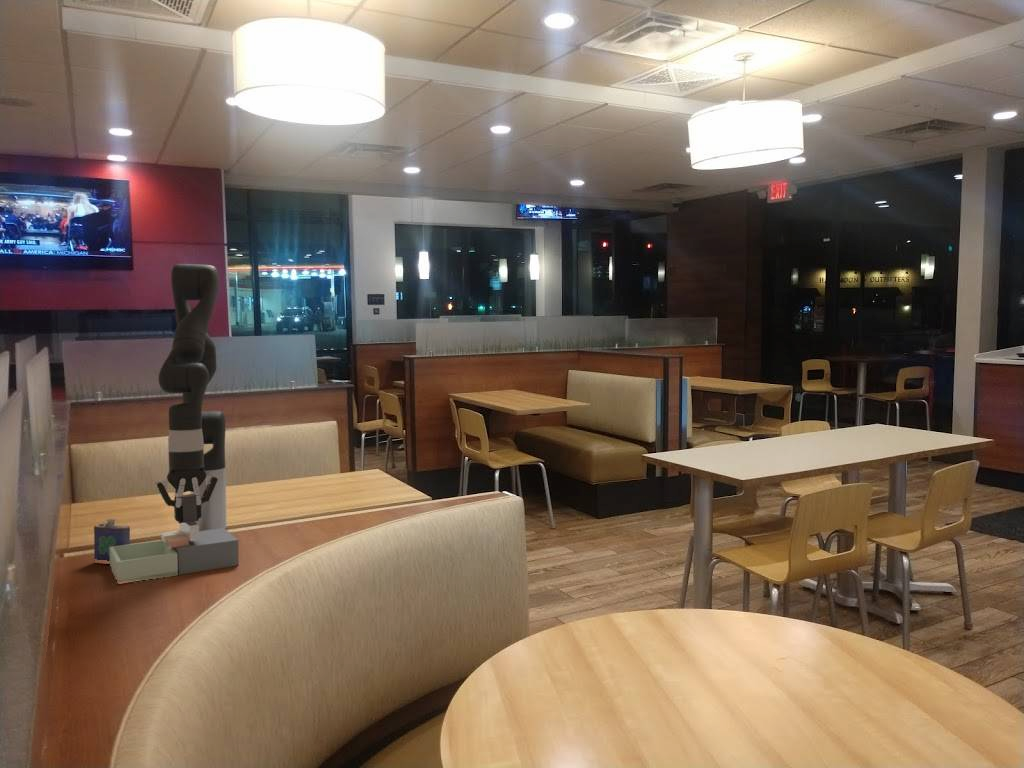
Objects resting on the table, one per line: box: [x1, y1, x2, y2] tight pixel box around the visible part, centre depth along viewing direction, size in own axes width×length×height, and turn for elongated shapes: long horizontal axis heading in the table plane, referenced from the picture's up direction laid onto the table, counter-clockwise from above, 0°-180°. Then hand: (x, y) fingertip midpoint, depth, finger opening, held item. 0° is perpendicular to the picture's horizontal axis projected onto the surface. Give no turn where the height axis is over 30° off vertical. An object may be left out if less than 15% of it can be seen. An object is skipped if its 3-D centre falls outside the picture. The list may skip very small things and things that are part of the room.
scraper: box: [178, 493, 199, 541], centre depth 174 cm, size 12×3×10 cm, turn 34°
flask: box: [93, 518, 131, 561], centre depth 177 cm, size 9×3×11 cm, turn 78°
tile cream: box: [160, 529, 183, 541], centre depth 176 cm, size 4×4×1 cm
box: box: [109, 539, 179, 583], centre depth 170 cm, size 15×12×5 cm
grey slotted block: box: [172, 528, 240, 576], centre depth 177 cm, size 14×13×6 cm
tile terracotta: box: [167, 536, 189, 548], centre depth 171 cm, size 4×4×1 cm
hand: (188, 521), depth 175 cm, fingers closed on scraper, 3 cm apart
